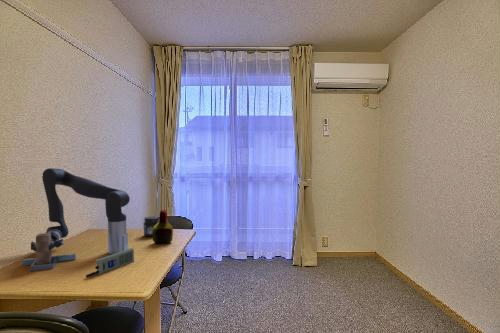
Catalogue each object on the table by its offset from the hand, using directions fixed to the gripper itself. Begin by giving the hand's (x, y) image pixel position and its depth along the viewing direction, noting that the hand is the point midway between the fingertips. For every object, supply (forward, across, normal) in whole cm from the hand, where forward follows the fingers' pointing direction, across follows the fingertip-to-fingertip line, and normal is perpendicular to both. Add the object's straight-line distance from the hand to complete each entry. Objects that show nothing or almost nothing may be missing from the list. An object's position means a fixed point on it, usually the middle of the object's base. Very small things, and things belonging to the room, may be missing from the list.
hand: (42, 248), depth 139 cm
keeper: (-4, +1, +9) cm, 10 cm away
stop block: (-3, 0, +8) cm, 8 cm away
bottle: (-23, +56, +10) cm, 61 cm away
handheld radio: (+12, +29, +10) cm, 33 cm away
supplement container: (-45, +52, +10) cm, 69 cm away
